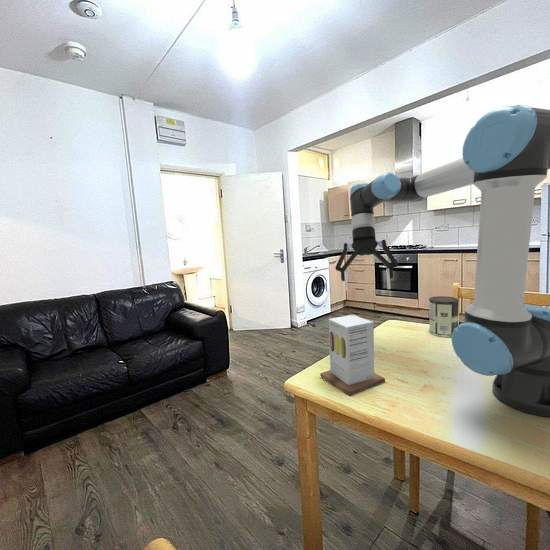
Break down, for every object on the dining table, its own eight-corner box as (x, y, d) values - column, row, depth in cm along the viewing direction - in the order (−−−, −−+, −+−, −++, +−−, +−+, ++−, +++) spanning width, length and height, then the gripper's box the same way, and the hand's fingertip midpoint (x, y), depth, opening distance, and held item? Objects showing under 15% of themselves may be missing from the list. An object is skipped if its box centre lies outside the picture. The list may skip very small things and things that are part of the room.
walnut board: (385, 382, 85) (384, 378, 85) (350, 396, 79) (350, 391, 79) (353, 365, 97) (352, 362, 97) (320, 377, 91) (320, 373, 90)
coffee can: (449, 328, 126) (449, 295, 124) (464, 336, 116) (464, 300, 114) (424, 329, 126) (424, 296, 124) (437, 338, 116) (437, 302, 114)
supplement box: (329, 372, 91) (327, 318, 89) (354, 365, 94) (353, 313, 92) (348, 386, 82) (346, 326, 80) (375, 378, 85) (374, 321, 83)
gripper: (400, 228, 104) (405, 289, 101) (328, 235, 110) (330, 292, 107) (403, 221, 97) (409, 286, 93) (325, 229, 103) (328, 290, 100)
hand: (367, 289), depth 100 cm, fingers open, 13 cm apart
